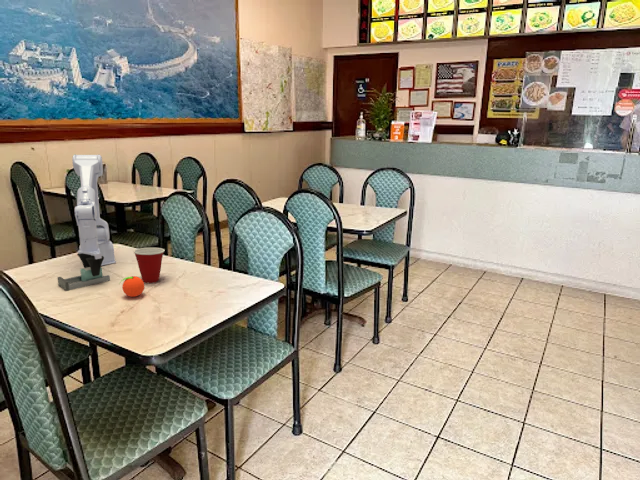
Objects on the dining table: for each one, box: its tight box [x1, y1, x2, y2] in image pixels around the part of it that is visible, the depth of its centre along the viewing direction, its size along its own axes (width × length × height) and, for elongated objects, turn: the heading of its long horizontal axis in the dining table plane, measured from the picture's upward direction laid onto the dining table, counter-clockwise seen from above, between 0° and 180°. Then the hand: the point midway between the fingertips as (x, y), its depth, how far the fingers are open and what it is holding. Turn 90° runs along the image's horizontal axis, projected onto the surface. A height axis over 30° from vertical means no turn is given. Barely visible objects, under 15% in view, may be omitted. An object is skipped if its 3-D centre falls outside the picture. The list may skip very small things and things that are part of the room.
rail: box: [57, 274, 111, 292], centre depth 163 cm, size 15×7×3 cm, turn 138°
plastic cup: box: [132, 247, 166, 284], centre depth 166 cm, size 11×11×12 cm
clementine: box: [118, 276, 145, 298], centre depth 152 cm, size 8×7×7 cm
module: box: [80, 267, 104, 281], centre depth 164 cm, size 6×4×5 cm, turn 138°
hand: (92, 273), depth 165 cm, fingers open, 6 cm apart
